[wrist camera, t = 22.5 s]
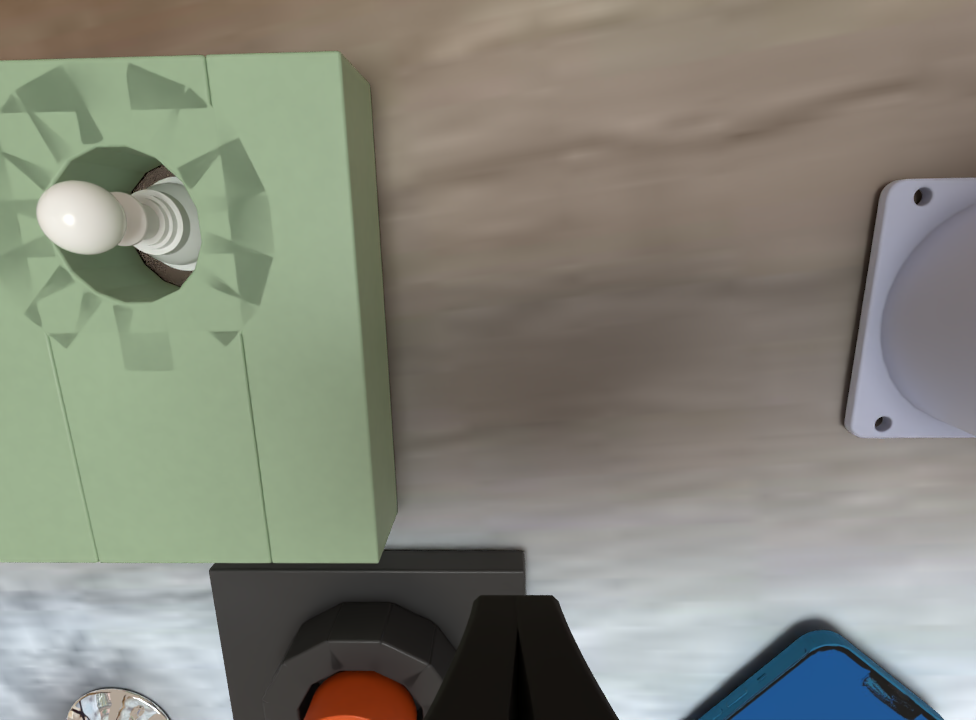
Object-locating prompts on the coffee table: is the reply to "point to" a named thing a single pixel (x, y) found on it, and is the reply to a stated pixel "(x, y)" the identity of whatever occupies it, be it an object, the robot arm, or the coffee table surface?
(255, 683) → the panel
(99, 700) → the wineglass
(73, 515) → the pod holder
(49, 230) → the chess pawn
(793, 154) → the coffee table surface
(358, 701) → the button
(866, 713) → the smartphone
